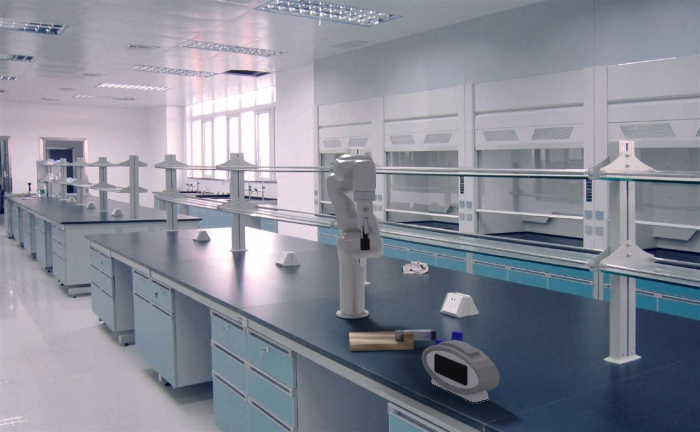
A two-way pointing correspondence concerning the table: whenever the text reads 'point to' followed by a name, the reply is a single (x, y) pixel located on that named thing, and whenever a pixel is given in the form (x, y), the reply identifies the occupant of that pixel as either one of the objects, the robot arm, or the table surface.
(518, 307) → the table surface
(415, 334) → the folding leg
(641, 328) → the table surface
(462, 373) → the alarm clock
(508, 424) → the table surface
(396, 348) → the stool seat
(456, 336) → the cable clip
